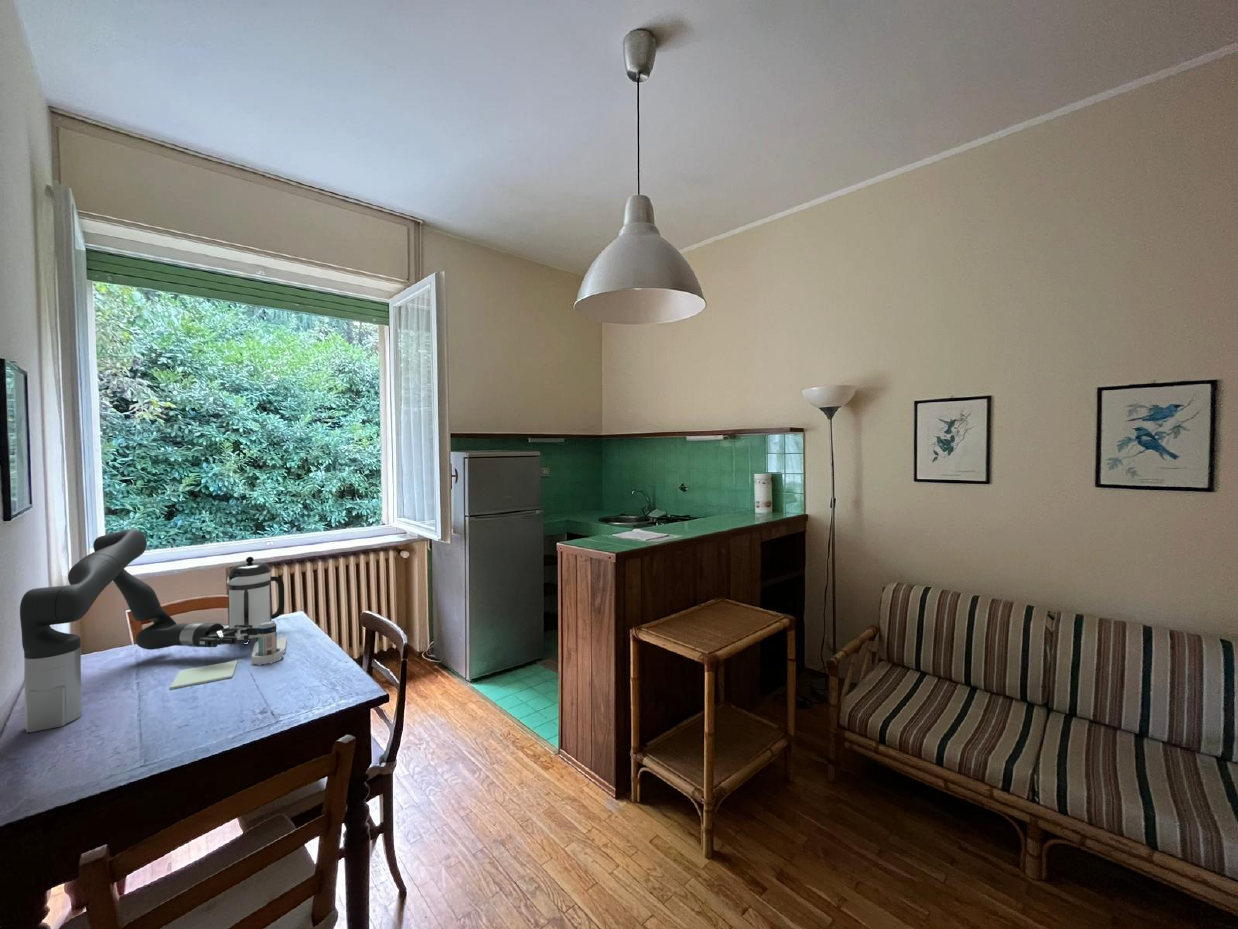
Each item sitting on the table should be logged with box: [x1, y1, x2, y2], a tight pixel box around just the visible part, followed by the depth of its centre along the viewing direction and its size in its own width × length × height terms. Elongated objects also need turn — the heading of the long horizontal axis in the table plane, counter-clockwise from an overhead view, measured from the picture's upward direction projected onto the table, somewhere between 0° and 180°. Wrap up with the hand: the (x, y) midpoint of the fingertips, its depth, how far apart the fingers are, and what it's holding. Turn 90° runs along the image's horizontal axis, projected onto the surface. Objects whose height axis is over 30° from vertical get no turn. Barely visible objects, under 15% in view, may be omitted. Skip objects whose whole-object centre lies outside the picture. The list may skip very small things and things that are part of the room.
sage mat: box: [168, 660, 239, 690], centre depth 149 cm, size 14×14×1 cm
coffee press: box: [226, 556, 285, 644], centre depth 182 cm, size 17×16×30 cm
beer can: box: [257, 620, 278, 656], centre depth 161 cm, size 5×5×12 cm
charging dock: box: [251, 636, 287, 665], centre depth 166 cm, size 22×9×2 cm, turn 32°
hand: (247, 636), depth 161 cm, fingers open, 8 cm apart
